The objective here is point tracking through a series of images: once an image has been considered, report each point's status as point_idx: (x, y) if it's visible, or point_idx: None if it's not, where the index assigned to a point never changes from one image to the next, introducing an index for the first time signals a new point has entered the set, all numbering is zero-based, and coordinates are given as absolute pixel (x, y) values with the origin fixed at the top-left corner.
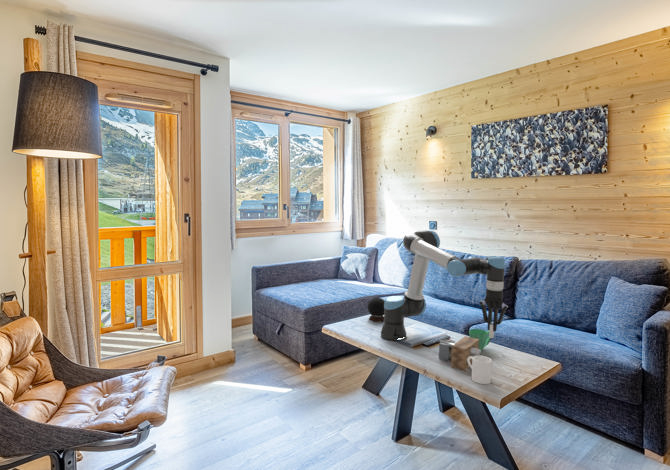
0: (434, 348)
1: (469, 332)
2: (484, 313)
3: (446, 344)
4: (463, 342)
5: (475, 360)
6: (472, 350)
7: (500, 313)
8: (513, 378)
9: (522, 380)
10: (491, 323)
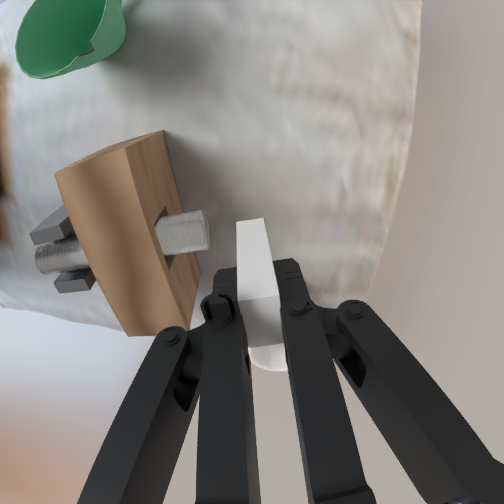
0: (18, 187)
1: (28, 73)
2: (170, 453)
3: (75, 284)
4: (117, 271)
5: (272, 370)
6: (175, 254)
7: (400, 462)
8: (356, 208)
9: (384, 201)
10: (244, 315)
